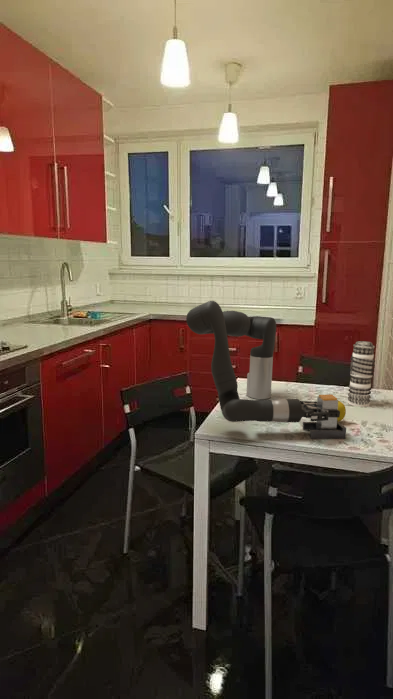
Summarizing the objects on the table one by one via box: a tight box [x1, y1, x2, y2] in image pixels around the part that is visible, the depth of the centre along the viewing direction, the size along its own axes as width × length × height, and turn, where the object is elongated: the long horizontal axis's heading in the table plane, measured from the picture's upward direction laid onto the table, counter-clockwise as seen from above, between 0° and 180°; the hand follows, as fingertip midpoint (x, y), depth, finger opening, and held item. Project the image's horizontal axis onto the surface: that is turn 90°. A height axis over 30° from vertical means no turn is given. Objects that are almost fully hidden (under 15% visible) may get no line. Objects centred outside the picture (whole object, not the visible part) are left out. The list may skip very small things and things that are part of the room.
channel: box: [301, 420, 347, 440], centre depth 148 cm, size 11×9×4 cm
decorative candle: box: [347, 340, 376, 408], centre depth 180 cm, size 9×9×25 cm
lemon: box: [337, 399, 347, 422], centre depth 159 cm, size 6×6×8 cm
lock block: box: [315, 394, 338, 430], centre depth 147 cm, size 5×5×13 cm
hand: (335, 410), depth 147 cm, fingers open, 5 cm apart
